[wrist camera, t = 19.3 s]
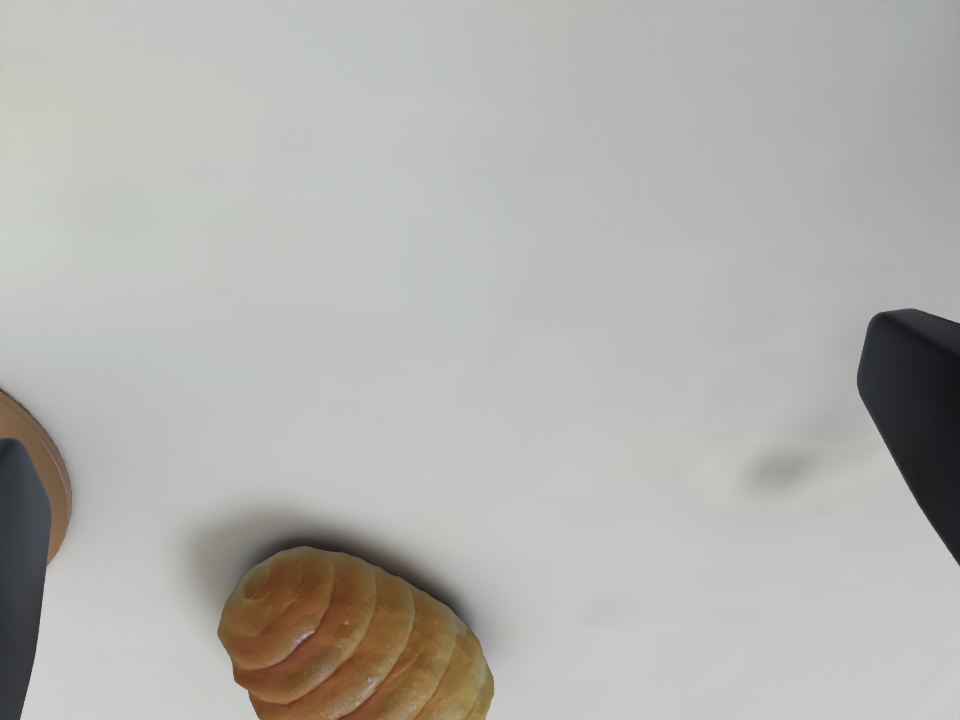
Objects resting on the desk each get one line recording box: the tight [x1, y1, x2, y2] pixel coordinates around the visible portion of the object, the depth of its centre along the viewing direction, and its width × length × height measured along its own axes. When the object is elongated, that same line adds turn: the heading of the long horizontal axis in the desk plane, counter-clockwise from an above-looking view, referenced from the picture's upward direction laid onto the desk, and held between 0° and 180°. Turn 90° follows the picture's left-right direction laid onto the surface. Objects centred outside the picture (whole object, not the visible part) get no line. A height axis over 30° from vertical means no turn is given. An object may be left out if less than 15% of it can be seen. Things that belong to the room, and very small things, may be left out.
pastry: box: [217, 546, 494, 720], centre depth 27 cm, size 9×7×4 cm
